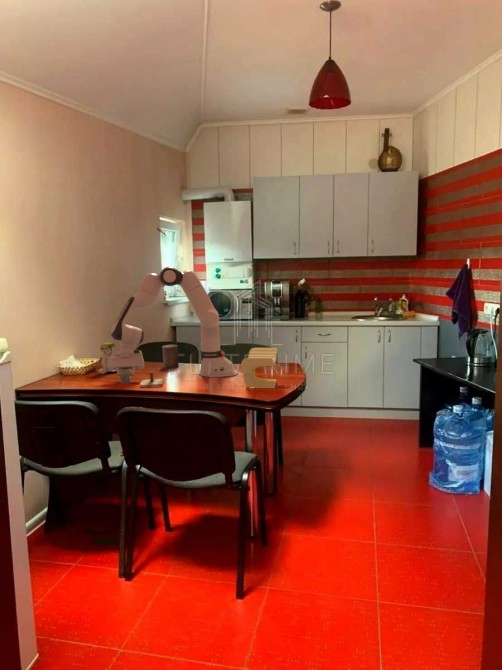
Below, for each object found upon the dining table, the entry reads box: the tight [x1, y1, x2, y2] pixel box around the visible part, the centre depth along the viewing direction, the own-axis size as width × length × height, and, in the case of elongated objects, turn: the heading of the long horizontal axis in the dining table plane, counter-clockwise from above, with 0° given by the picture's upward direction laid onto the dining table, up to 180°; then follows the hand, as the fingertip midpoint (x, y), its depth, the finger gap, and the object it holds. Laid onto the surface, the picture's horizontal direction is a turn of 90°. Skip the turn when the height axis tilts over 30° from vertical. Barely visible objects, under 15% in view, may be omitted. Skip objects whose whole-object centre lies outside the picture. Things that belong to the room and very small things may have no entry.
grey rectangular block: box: [119, 367, 132, 385], centre depth 284 cm, size 5×5×8 cm
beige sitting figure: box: [98, 341, 120, 375], centre depth 312 cm, size 12×13×18 cm
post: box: [139, 372, 165, 388], centre depth 279 cm, size 12×12×6 cm
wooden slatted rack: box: [240, 347, 278, 389], centre depth 271 cm, size 30×16×18 cm, turn 172°
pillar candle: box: [161, 344, 180, 369], centre depth 323 cm, size 10×10×15 cm
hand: (125, 375), depth 284 cm, fingers closed on grey rectangular block, 5 cm apart
